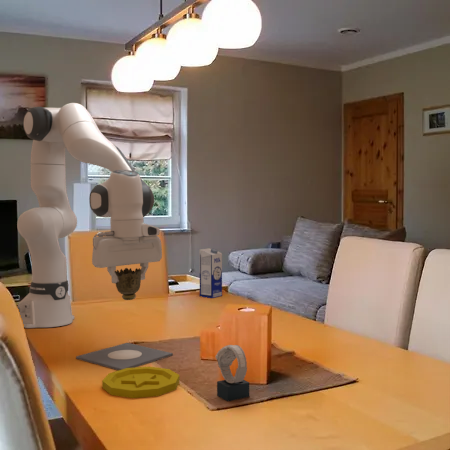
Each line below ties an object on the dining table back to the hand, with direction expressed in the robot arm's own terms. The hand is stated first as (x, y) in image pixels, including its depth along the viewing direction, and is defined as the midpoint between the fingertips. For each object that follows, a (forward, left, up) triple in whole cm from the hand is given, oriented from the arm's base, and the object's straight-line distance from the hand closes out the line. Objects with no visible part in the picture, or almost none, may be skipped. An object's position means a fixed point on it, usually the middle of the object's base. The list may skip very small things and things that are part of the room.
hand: (128, 281), depth 161 cm
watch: (+42, -9, -20) cm, 48 cm away
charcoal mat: (+1, -3, -20) cm, 20 cm away
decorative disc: (+21, -16, -21) cm, 34 cm away
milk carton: (-39, +81, -20) cm, 92 cm away
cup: (0, 0, -5) cm, 5 cm away
